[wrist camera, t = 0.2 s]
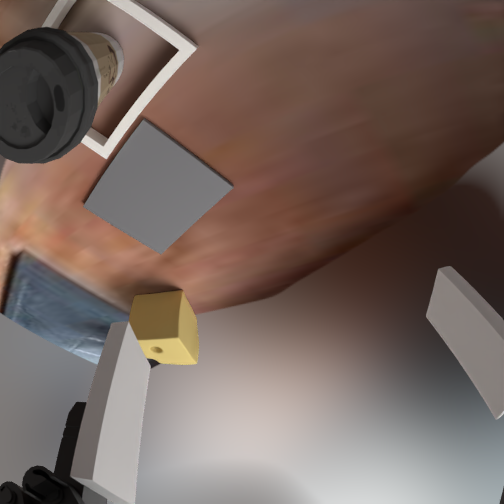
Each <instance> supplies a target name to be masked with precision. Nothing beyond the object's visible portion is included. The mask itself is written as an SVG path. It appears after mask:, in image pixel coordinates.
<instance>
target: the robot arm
mask: <svg viewBox="0 0 504 504" xmlns="http://www.w3.org/2000/svg"><path fill="white" fill-rule="evenodd" d="M426 317H427V318H428V320H429V321H430V322H431V323H432V325H433V326H434V328H435V329H436V330H437V332H438V333H439V334H440V336H441V337H442V339H443V340H444V341H445V343H446V344H447V345H448V347H449V348H450V349H451V351H452V352H453V354H454V355H455V357H456V358H457V359H458V361H459V362H460V364H461V365H462V367H463V368H464V370H465V371H466V372H467V374H468V376H469V377H470V379H471V380H472V382H473V383H474V385H475V386H476V388H477V389H478V391H479V393H480V394H481V396H482V397H483V399H484V401H485V402H486V404H487V405H488V407H489V409H490V410H491V412H492V413H493V415H494V417H495V418H496V419H498V418H499V417H501V416H502V415H504V318H503V319H502V318H501V317H500V316H499V315H498V314H497V312H496V311H495V310H494V309H493V308H492V307H491V306H490V305H489V304H488V303H487V302H486V301H485V300H484V299H483V298H482V297H481V296H480V294H479V293H478V292H477V291H476V290H474V288H473V287H472V286H470V284H469V283H468V282H467V281H466V280H465V279H464V278H463V277H461V276H460V275H459V274H458V273H457V272H456V271H455V270H454V269H453V268H452V267H451V266H448V267H444V268H440V269H438V272H437V277H436V281H435V285H434V289H433V293H432V296H431V300H430V304H429V307H428V311H427V314H426ZM150 368H151V366H150V364H149V362H148V361H147V359H146V357H145V355H144V353H143V351H142V349H141V347H140V345H139V342H138V340H137V338H136V336H135V334H134V332H133V330H132V328H131V326H130V323H129V321H128V322H118V323H112V324H111V327H110V330H109V333H108V335H107V338H106V341H105V344H104V347H103V350H102V353H101V356H100V359H99V363H98V366H97V369H96V372H95V376H94V379H93V383H92V386H91V389H90V393H89V396H88V400H87V402H76V403H75V405H74V406H73V408H72V409H71V411H70V412H69V414H68V418H67V421H66V428H65V429H64V432H63V438H62V440H61V444H60V448H59V452H58V457H57V461H56V466H55V471H54V473H52V472H51V471H50V470H48V469H47V468H45V467H43V466H34V467H31V468H30V469H29V470H28V471H27V472H26V473H25V475H24V477H23V482H22V486H23V487H22V488H21V487H20V486H18V485H17V484H15V483H13V482H5V483H3V484H2V485H1V486H0V504H107V500H109V501H111V502H113V503H115V504H135V499H136V484H137V471H138V460H139V449H140V440H141V431H142V423H143V415H144V407H145V400H146V393H147V387H148V380H149V374H150ZM500 504H504V488H503V493H502V496H501V500H500Z"/></svg>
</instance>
